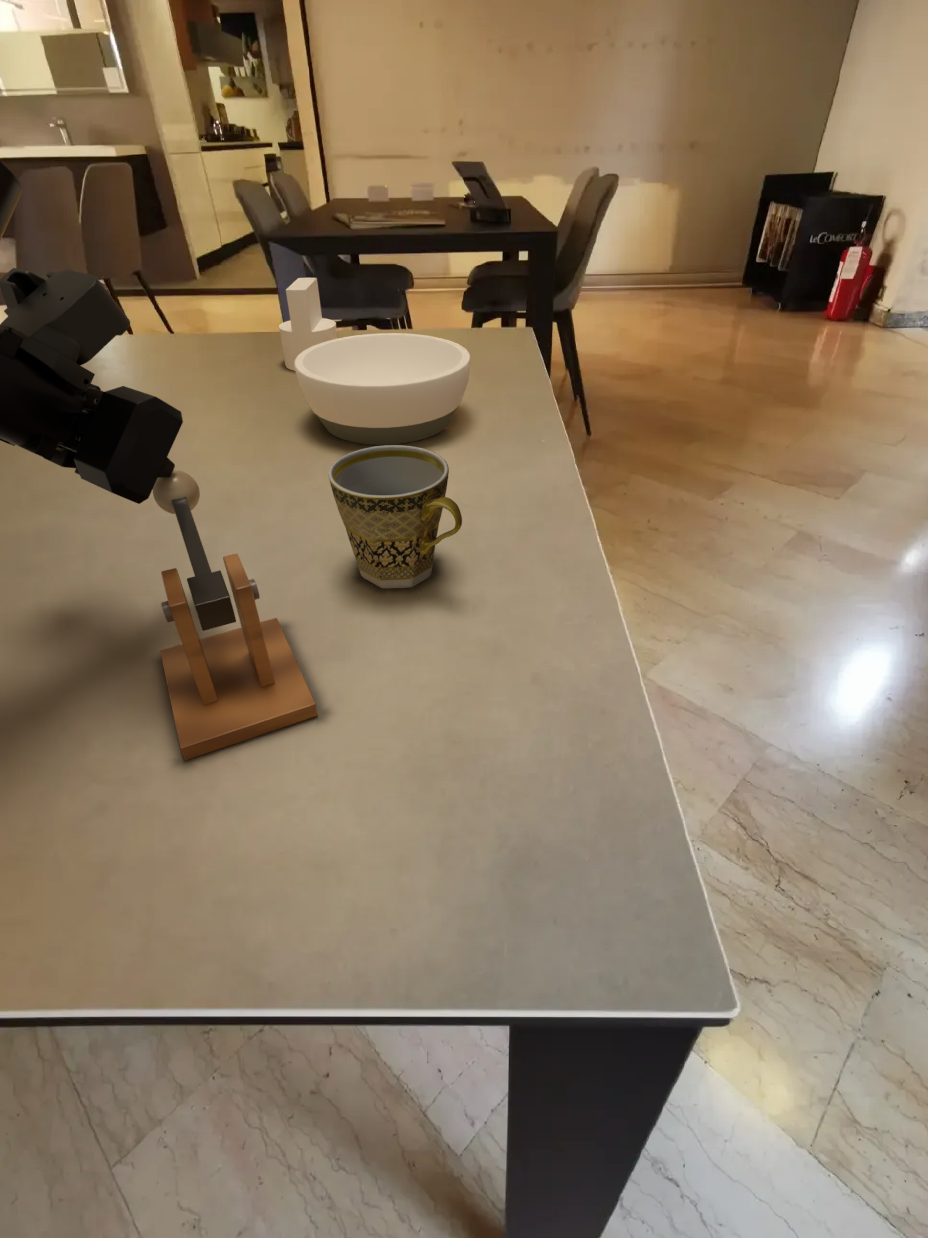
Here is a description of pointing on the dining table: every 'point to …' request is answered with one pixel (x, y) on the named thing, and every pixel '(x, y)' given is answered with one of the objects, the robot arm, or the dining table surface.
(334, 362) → the bowl
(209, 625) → the lever
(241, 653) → the bracket
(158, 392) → the dining table surface
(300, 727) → the dining table surface
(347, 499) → the ceramic cup
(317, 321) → the cylinder with rectangular tab
